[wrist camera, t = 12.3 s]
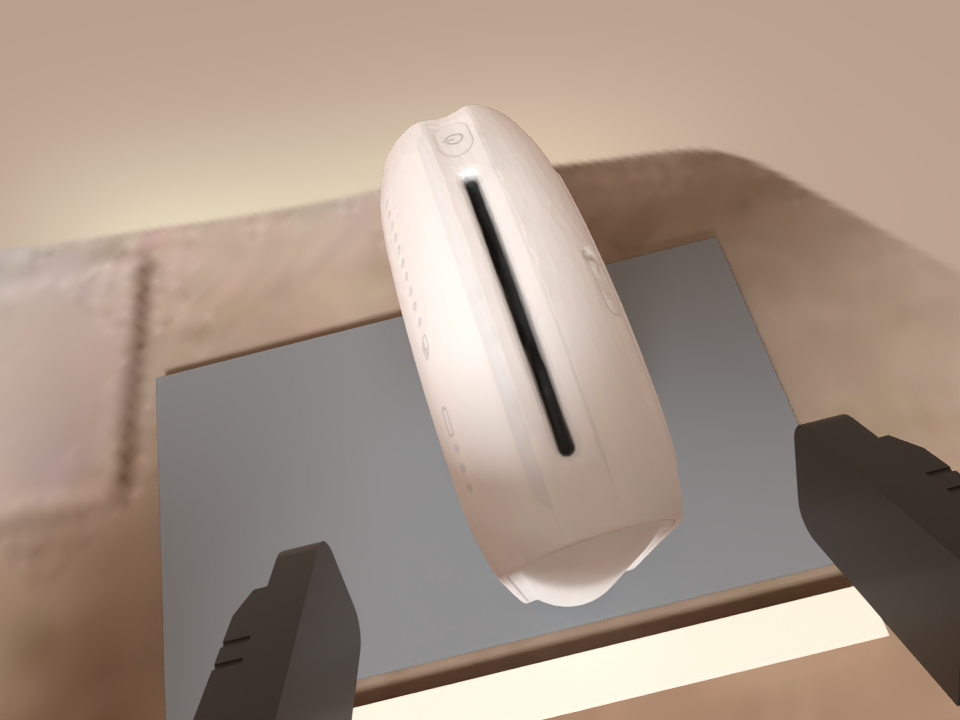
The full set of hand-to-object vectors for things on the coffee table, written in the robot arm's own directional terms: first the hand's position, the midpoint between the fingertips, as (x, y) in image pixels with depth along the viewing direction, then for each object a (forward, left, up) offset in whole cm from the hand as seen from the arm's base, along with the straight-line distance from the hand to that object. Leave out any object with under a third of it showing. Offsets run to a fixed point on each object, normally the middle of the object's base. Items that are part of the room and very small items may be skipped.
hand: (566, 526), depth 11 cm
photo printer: (0, -4, -11) cm, 12 cm away
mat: (+2, -3, -11) cm, 12 cm away
